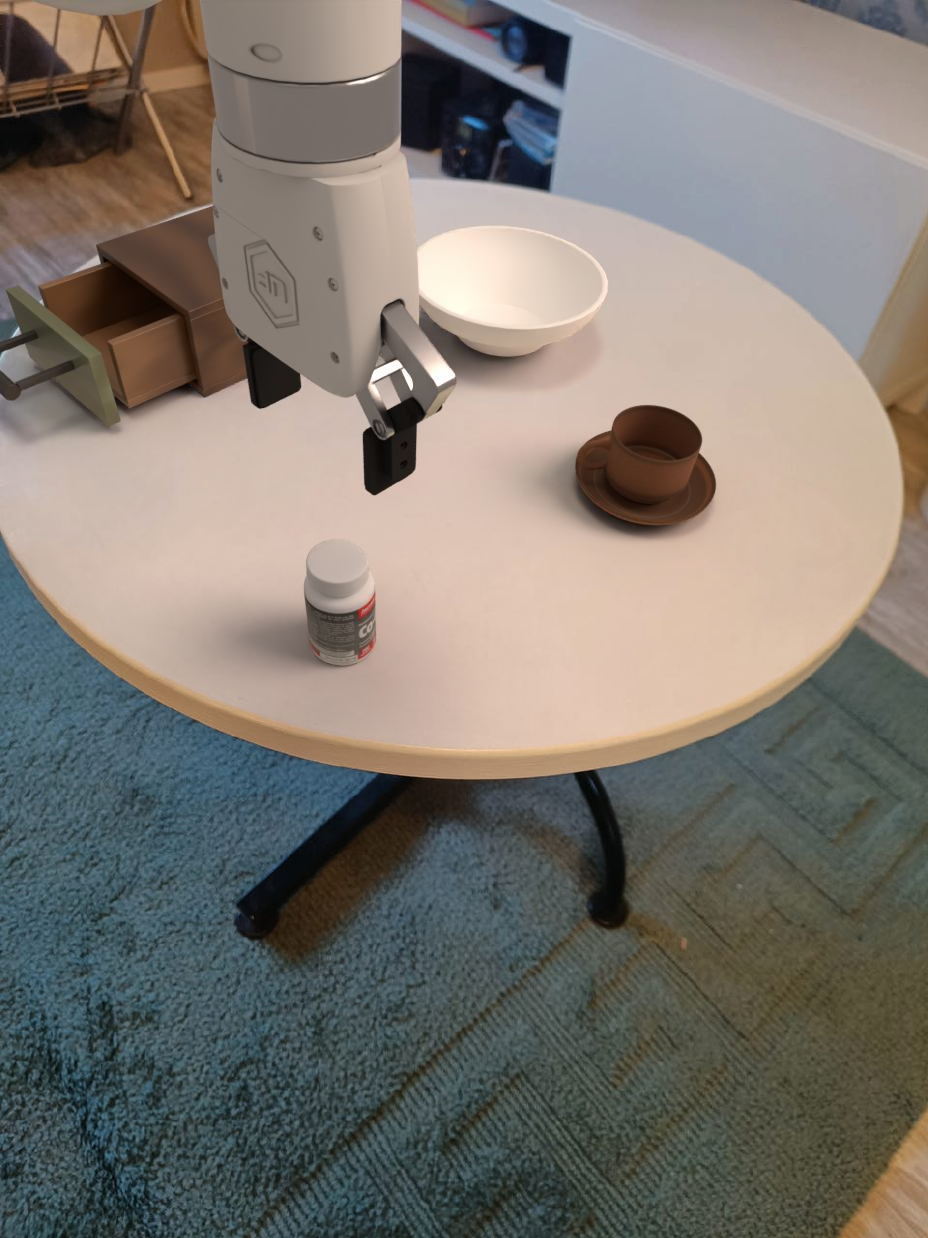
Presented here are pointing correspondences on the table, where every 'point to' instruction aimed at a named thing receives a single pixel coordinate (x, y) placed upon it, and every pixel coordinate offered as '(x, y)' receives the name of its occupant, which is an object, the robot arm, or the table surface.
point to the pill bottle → (340, 602)
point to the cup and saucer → (647, 467)
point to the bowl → (508, 287)
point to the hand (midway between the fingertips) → (331, 438)
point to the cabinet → (186, 290)
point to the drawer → (100, 340)
